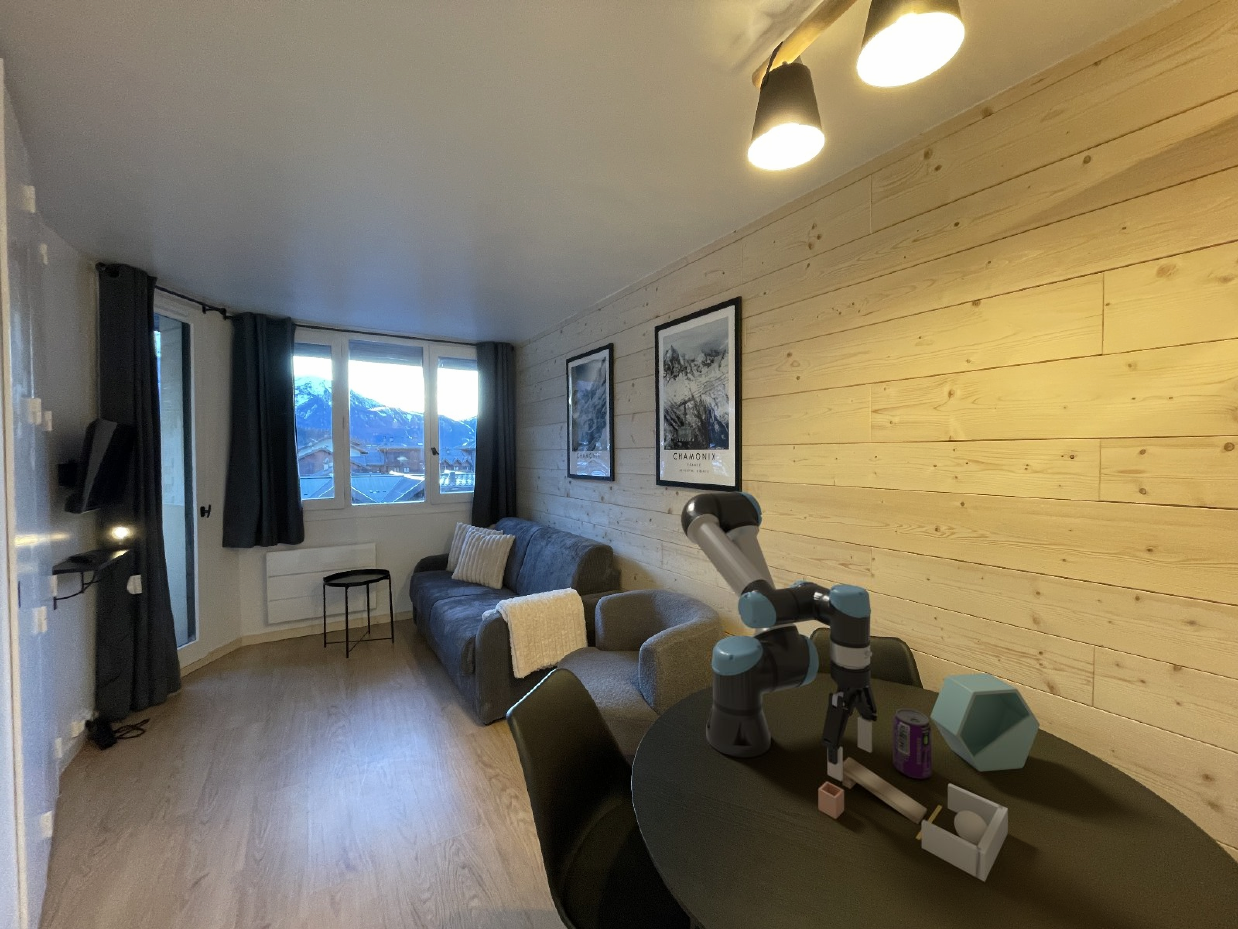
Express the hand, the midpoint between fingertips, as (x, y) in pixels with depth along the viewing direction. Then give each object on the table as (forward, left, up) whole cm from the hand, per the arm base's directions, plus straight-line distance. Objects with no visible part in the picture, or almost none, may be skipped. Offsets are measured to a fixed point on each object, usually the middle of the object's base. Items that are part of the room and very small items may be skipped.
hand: (850, 762), depth 101 cm
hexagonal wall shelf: (+16, +29, -4) cm, 34 cm away
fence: (+20, 0, -4) cm, 21 cm away
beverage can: (+7, +13, -4) cm, 16 cm away
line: (+14, 0, -4) cm, 15 cm away
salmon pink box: (+1, -11, -4) cm, 11 cm away
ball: (+21, 0, -2) cm, 21 cm away
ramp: (+6, 0, -4) cm, 7 cm away
